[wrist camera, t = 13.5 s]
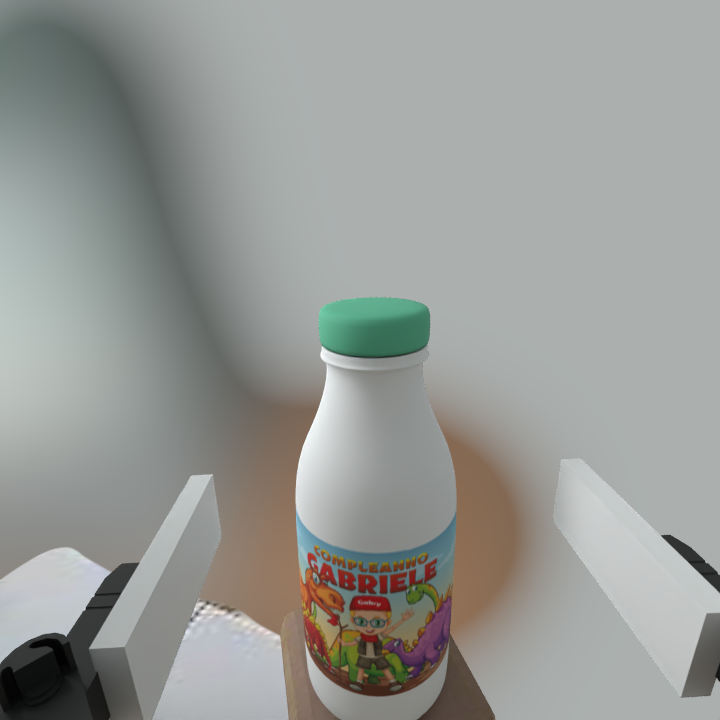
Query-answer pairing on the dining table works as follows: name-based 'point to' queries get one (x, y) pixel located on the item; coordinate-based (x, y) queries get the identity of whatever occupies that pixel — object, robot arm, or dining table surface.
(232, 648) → the dining table surface
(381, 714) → the milk bottle
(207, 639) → the dining table surface
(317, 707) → the wooden block
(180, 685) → the dining table surface
